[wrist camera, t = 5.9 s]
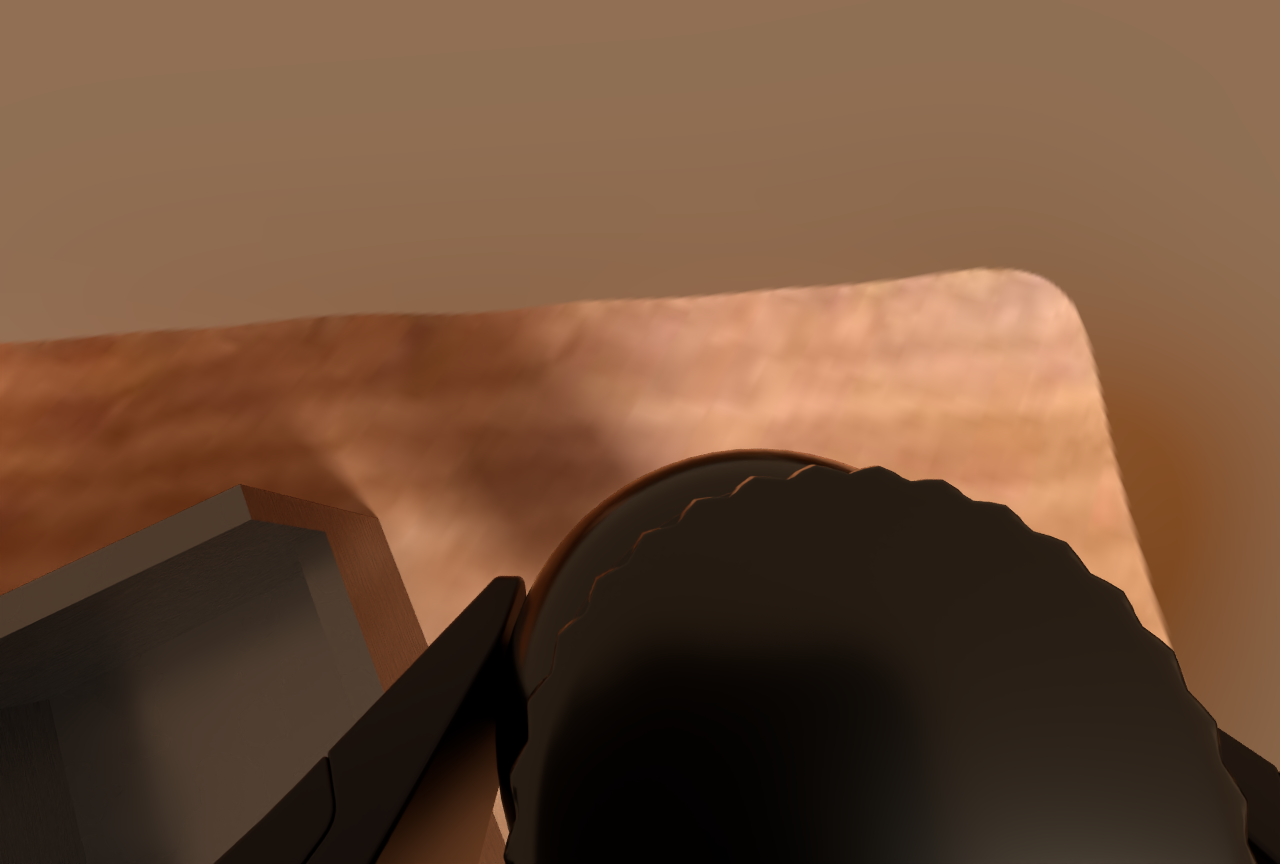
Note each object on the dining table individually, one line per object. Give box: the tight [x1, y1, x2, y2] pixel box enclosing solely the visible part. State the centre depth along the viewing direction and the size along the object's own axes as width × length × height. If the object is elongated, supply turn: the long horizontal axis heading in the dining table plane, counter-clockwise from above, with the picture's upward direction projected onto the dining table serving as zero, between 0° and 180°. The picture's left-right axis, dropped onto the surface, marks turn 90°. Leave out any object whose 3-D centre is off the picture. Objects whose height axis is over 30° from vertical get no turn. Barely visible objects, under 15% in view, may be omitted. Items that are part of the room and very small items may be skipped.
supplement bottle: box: [495, 449, 1258, 864], centre depth 9 cm, size 7×7×12 cm
